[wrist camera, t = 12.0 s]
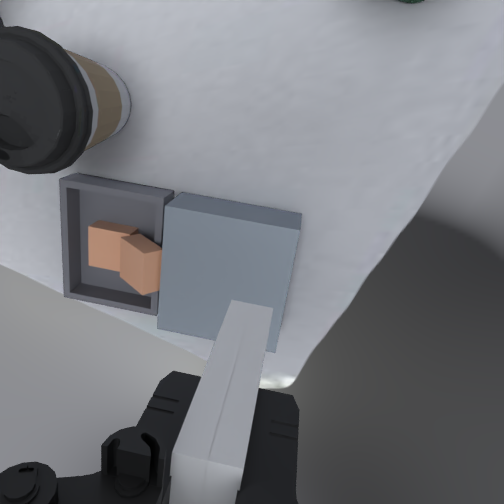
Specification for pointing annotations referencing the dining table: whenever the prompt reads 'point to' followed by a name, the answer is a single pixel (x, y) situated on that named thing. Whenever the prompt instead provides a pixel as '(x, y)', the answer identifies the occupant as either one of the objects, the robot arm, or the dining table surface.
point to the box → (116, 211)
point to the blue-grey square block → (223, 263)
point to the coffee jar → (411, 1)
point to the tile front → (140, 263)
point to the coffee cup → (53, 103)
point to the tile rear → (107, 243)
